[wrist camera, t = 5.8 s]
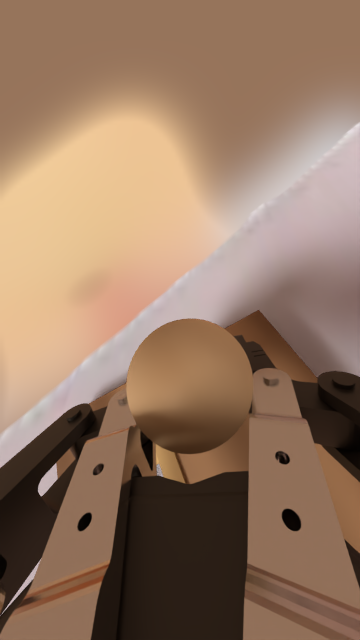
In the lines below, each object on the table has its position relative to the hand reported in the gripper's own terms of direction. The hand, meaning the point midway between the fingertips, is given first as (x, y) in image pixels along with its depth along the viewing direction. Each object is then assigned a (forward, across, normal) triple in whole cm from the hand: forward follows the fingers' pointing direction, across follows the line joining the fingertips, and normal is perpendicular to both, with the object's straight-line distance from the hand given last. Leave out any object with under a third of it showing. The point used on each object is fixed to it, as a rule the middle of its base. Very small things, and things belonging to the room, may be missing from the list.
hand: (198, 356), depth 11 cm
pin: (+1, 0, +4) cm, 4 cm away
